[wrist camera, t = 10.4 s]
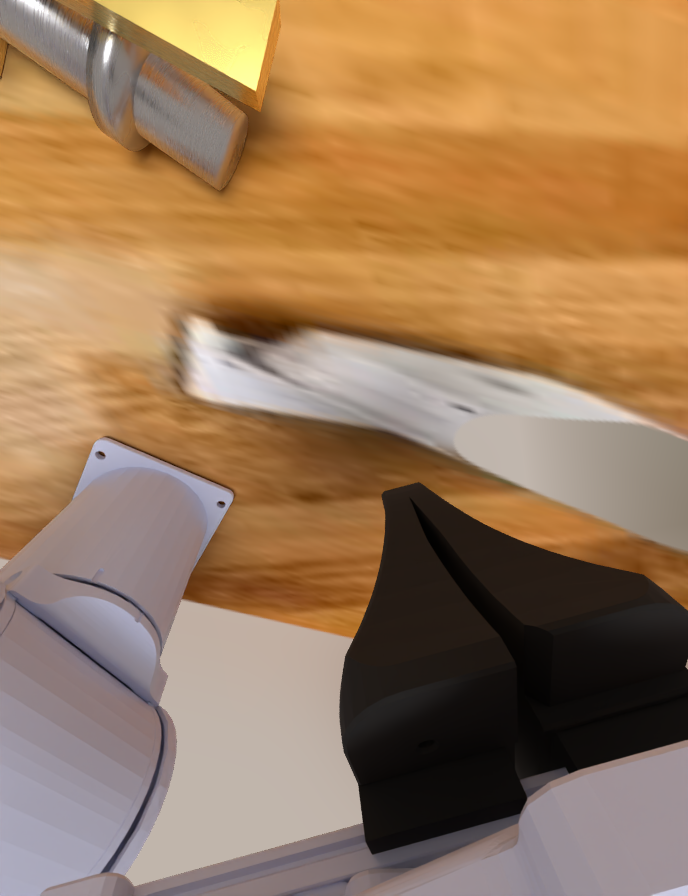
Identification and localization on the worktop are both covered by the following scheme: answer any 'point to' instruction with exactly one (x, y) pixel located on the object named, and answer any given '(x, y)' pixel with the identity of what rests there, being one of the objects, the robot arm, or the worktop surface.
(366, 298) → the worktop surface
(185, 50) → the lever
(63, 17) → the valve body
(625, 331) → the worktop surface
